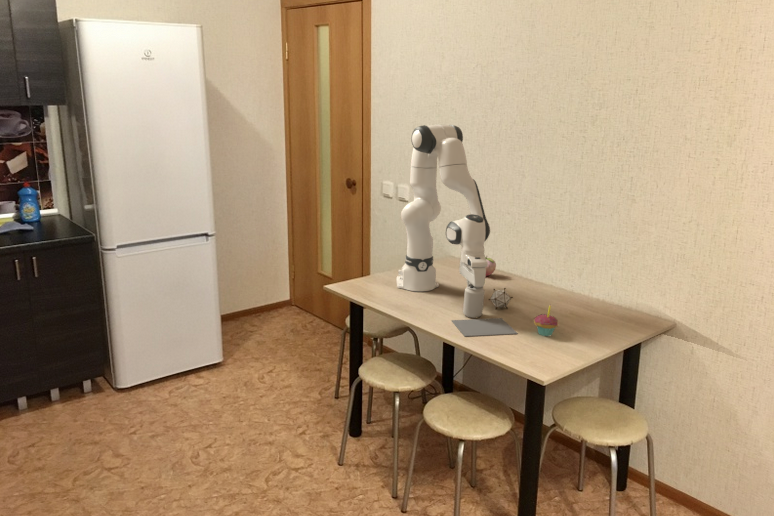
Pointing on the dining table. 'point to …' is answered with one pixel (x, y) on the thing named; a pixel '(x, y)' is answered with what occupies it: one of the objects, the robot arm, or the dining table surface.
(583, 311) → the dining table surface
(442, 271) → the dining table surface
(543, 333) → the cupcake
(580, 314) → the dining table surface
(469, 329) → the mat
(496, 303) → the game die
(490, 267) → the decorative fruit
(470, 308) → the can
